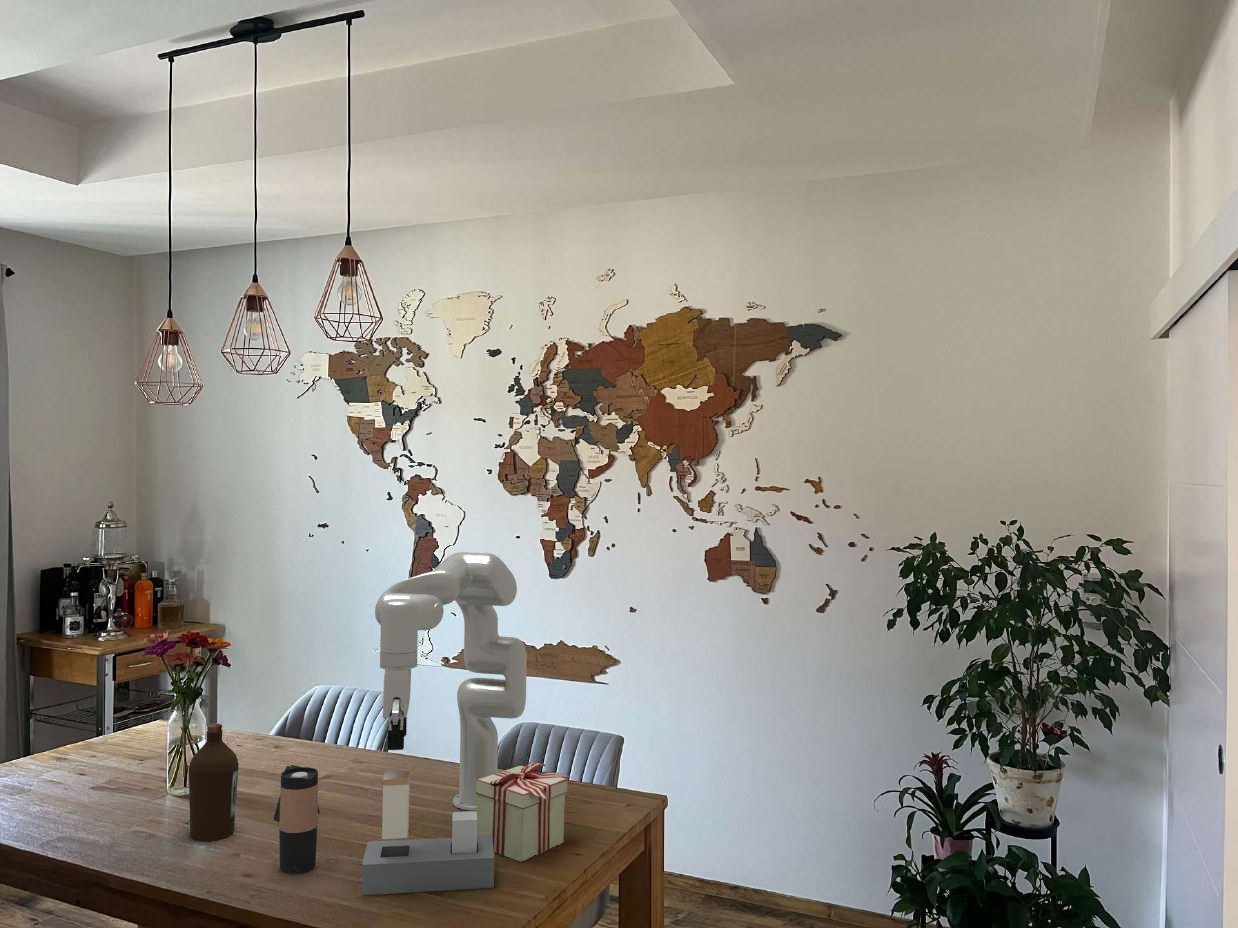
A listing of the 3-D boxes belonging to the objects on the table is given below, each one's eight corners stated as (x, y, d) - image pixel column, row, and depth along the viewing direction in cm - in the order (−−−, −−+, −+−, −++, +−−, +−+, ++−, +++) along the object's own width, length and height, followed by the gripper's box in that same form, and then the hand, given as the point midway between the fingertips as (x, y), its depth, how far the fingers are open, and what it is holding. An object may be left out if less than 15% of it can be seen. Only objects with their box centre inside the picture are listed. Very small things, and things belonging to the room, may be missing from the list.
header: (491, 863, 202) (492, 804, 203) (493, 887, 191) (495, 824, 191) (367, 870, 198) (368, 809, 198) (361, 895, 186) (362, 831, 186)
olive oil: (187, 845, 209) (190, 733, 210) (186, 829, 219) (188, 721, 219) (238, 838, 214) (241, 728, 215) (235, 822, 224) (237, 717, 224)
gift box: (536, 867, 201) (537, 786, 201) (470, 848, 210) (471, 771, 211) (581, 842, 215) (582, 766, 215) (517, 825, 225) (519, 753, 225)
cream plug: (408, 828, 196) (409, 770, 196) (407, 837, 191) (408, 778, 191) (383, 829, 195) (384, 771, 195) (381, 839, 190) (382, 779, 190)
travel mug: (284, 860, 202) (286, 766, 203) (320, 859, 203) (322, 766, 203) (274, 875, 195) (276, 778, 195) (311, 874, 195) (313, 777, 196)
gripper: (383, 651, 202) (381, 731, 201) (376, 668, 185) (374, 755, 184) (418, 651, 203) (417, 730, 203) (415, 667, 186) (414, 754, 186)
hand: (397, 742), depth 194 cm, fingers open, 9 cm apart
